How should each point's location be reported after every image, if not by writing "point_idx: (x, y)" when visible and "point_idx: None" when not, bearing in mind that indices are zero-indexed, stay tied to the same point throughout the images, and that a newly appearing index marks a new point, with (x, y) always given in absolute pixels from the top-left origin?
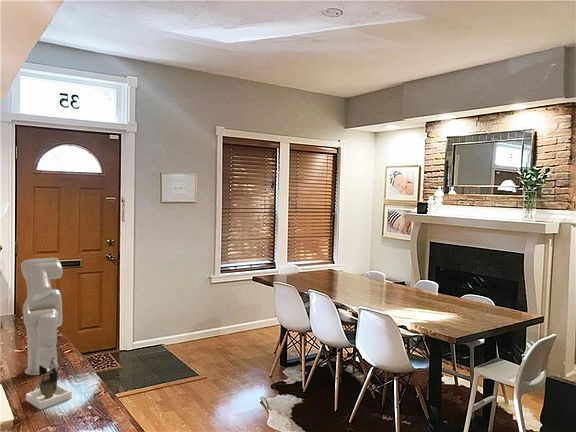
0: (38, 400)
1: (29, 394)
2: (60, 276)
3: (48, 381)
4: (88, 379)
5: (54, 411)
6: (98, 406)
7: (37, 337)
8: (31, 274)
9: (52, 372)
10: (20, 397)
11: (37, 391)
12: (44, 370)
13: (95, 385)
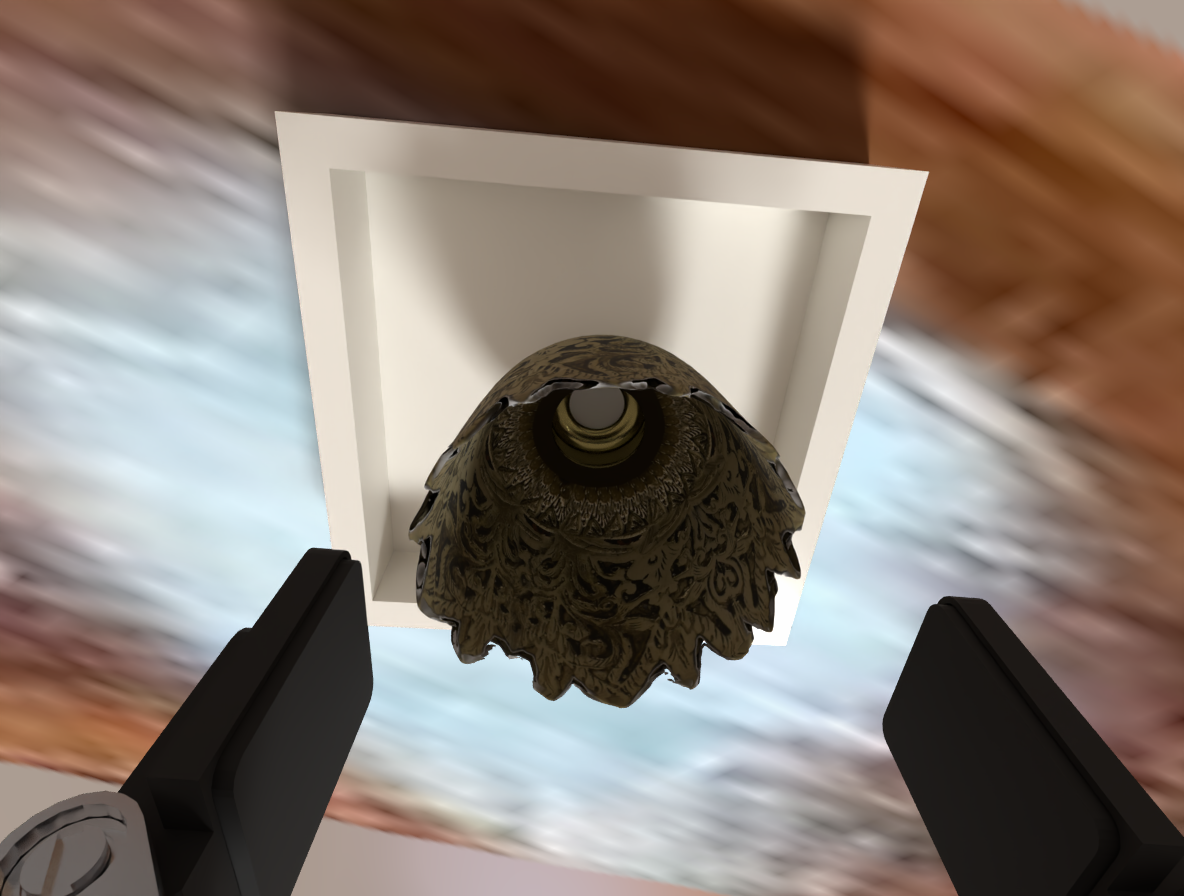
0: (415, 153)
1: (829, 197)
2: None
3: (736, 584)
4: (682, 839)
5: (102, 222)
6: None
7: None
8: None
9: (26, 856)
10: (1055, 169)
11: (824, 364)
12: (943, 768)
13: (489, 814)
